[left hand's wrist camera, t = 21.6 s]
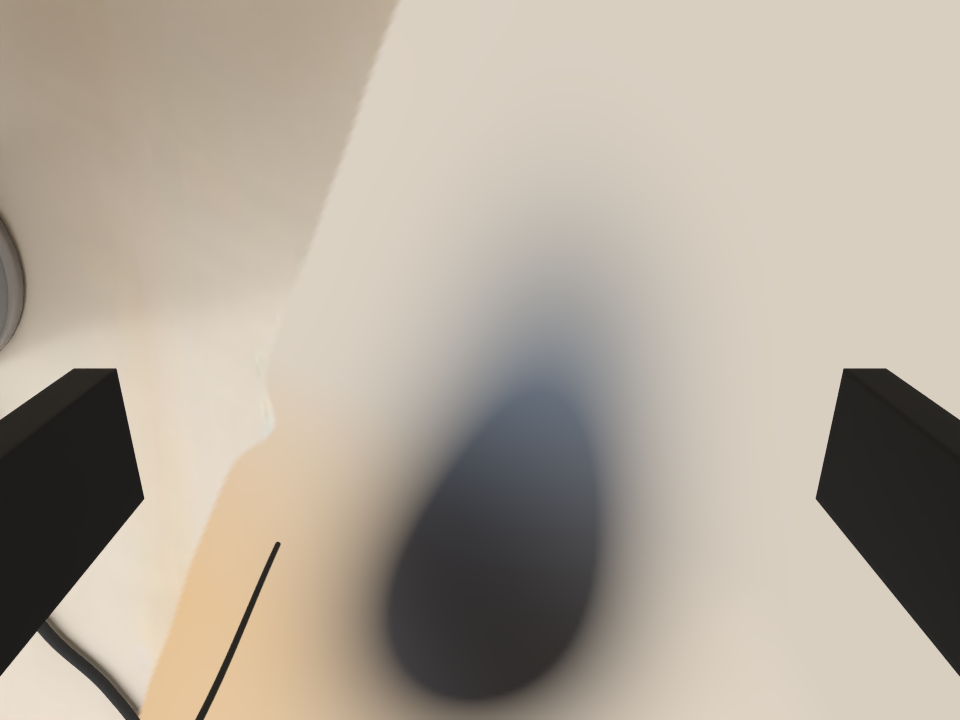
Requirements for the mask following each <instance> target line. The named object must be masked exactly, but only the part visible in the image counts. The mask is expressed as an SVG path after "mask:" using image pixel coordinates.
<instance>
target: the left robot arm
mask: <svg viewBox="0 0 960 720" xmlns="http://www.w3.org/2000/svg"><path fill="white" fill-rule="evenodd" d="M23 300H24V285H23V275H22V270H21V265H20V261H19V258H18V254H17V251H16V249H15V246H14V244H13V241H12V239H11V237H10V235H9V233H8V231H7V229H6V227H5V226H4V224H3V222H2V221H1V219H0V350H1V349H2V348H3V347H4V346H5V345H6V344H7V342H8V341H9V340H10V338H11V337H12V335H13V333H14V331H15V330H16V327H17V325H18V322H19V320H20V316H21V312H22V307H23ZM143 500H144V495H143V490H142V486H141V481H140V476H139V472H138V467H137V462H136V458H135V453H134V448H133V444H132V439H131V434H130V430H129V425H128V420H127V416H126V411H125V406H124V402H123V397H122V393H121V388H120V383H119V379H118V374H117V369H73V370H71V371H70V372H68V373H67V374H65V375H64V376H63V377H61V378H60V379H58V380H57V381H55V382H54V383H52V384H51V385H50V386H48V387H47V388H45V389H44V390H42V391H41V392H40V393H38V394H37V395H35V396H34V397H32V398H31V399H30V400H28V401H27V402H25V403H24V404H22V405H21V406H20V407H18V408H17V409H15V410H14V411H12V412H11V413H10V414H8V415H7V416H5V417H4V418H2V419H1V420H0V676H1V675H2V674H3V672H4V671H5V670H6V669H7V667H8V666H9V665H10V664H11V662H12V661H13V660H14V659H15V657H16V656H17V655H18V654H19V653H20V651H21V650H22V649H23V648H24V646H25V645H26V644H27V643H28V641H29V640H30V639H31V638H32V637H33V635H34V634H35V633H36V632H37V631H38V632H39V634H40V635H41V636H42V637H43V638H44V639H45V640H46V641H47V642H48V643H49V645H50V646H51V647H53V648H54V649H55V650H56V651H57V652H58V653H59V654H60V655H61V656H62V657H64V658H65V659H66V660H67V661H68V662H70V663H71V664H72V665H73V666H75V667H76V668H77V669H78V670H79V671H81V672H82V673H83V674H84V675H85V676H87V677H88V678H89V679H90V680H91V681H92V682H93V683H94V684H95V685H96V686H97V687H98V688H99V689H100V690H101V691H102V692H103V693H104V694H105V696H106V697H107V698H108V699H109V700H110V701H111V703H112V704H113V705H114V706H115V707H116V708H117V710H118V711H119V712H120V713H121V714H122V716H123V717H124V718H125V719H126V720H140V719H139V718H138V716H137V715H136V713H135V712H134V710H133V709H132V708H131V707H130V705H129V704H128V703H127V702H126V701H125V699H124V698H123V697H122V696H121V695H120V693H119V692H118V691H117V690H116V689H115V688H114V686H113V685H112V684H111V683H110V682H109V681H108V680H107V679H106V678H105V677H104V676H103V675H102V674H101V673H100V672H99V671H98V670H97V669H96V668H95V667H94V666H93V665H91V664H90V663H89V662H88V661H87V660H85V659H84V658H83V657H82V656H81V655H79V654H78V653H77V652H76V651H75V650H73V649H72V648H71V647H70V646H69V645H68V644H67V643H65V642H64V641H63V640H62V639H61V638H60V637H59V636H58V635H57V634H56V633H55V631H54V630H53V629H52V628H51V627H50V626H49V625H48V623H47V622H46V619H47V618H48V617H49V616H50V614H51V613H52V612H53V611H54V609H55V608H56V607H57V606H58V604H59V603H60V602H61V601H62V600H63V598H64V597H65V596H66V595H67V593H68V592H69V591H70V590H71V588H72V587H73V586H74V585H75V584H76V582H77V581H78V580H79V579H80V577H81V576H82V575H83V574H84V572H85V571H86V570H87V569H88V568H89V566H90V565H91V564H92V563H93V561H94V560H95V559H96V558H97V556H98V555H99V554H100V553H101V551H102V550H103V549H104V548H105V547H106V545H107V544H108V543H109V542H110V540H111V539H112V538H113V537H114V535H115V534H116V533H117V532H118V531H119V529H120V528H121V527H122V526H123V524H124V523H125V522H126V521H127V519H128V518H129V517H130V516H131V515H132V513H133V512H134V511H135V510H136V508H137V507H138V506H139V505H140V503H141V502H142V501H143ZM816 500H817V501H818V502H819V503H820V505H821V506H822V507H823V508H824V510H825V511H826V512H827V513H828V514H829V516H830V517H831V518H832V519H833V521H834V522H835V523H836V524H837V526H838V527H839V528H840V529H841V531H842V532H843V533H844V534H845V535H846V537H847V538H848V539H849V540H850V542H851V543H852V544H853V545H854V546H855V548H856V549H857V550H858V551H859V553H860V554H861V555H862V556H863V558H864V559H865V560H866V561H867V563H868V564H869V565H870V566H871V568H872V569H873V570H874V571H875V572H876V574H877V575H878V576H879V577H880V579H881V580H882V581H883V582H884V583H885V585H886V586H887V587H888V588H889V590H890V591H891V592H892V593H893V595H894V596H895V597H896V598H897V600H898V601H899V602H900V603H901V604H902V606H903V607H904V608H905V609H906V611H907V612H908V613H909V614H910V616H911V617H912V618H913V619H914V621H915V622H916V623H917V624H918V625H919V627H920V628H921V629H922V630H923V632H924V633H925V634H926V635H927V637H928V638H929V639H930V640H931V641H932V643H933V644H934V645H935V646H936V648H937V649H938V650H939V651H940V653H941V654H942V655H943V656H944V657H945V659H946V660H947V661H948V662H949V664H950V665H951V666H952V667H953V669H954V670H955V671H956V672H957V674H958V675H959V676H960V420H959V419H958V418H956V417H955V416H953V415H952V414H950V413H949V412H948V411H946V410H945V409H943V408H942V407H940V406H939V405H938V404H936V403H935V402H933V401H932V400H930V399H929V398H928V397H926V396H925V395H923V394H922V393H920V392H919V391H918V390H916V389H915V388H913V387H912V386H910V385H909V384H907V383H906V382H905V381H903V380H902V379H900V378H899V377H897V376H896V375H895V374H893V373H892V372H890V371H889V370H887V369H843V374H842V379H841V383H840V388H839V393H838V397H837V402H836V407H835V411H834V416H833V421H832V425H831V430H830V435H829V439H828V444H827V449H826V453H825V458H824V462H823V467H822V472H821V476H820V481H819V486H818V490H817V495H816ZM280 545H281V543H280V542H276V543H275V545H274V547H273V549H272V552H271V554H270V556H269V558H268V560H267V562H266V565H265V567H264V569H263V571H262V574H261V576H260V578H259V581H258V583H257V585H256V587H255V590H254V592H253V594H252V597H251V599H250V601H249V604H248V606H247V608H246V611H245V613H244V615H243V618H242V620H241V622H240V625H239V627H238V630H237V632H236V634H235V636H234V639H233V641H232V643H231V646H230V648H229V650H228V652H227V655H226V657H225V659H224V661H223V663H222V666H221V668H220V670H219V672H218V674H217V677H216V679H215V681H214V683H213V685H212V687H211V689H210V691H209V693H208V695H207V697H206V699H205V701H204V703H203V705H202V707H201V709H200V711H199V713H198V715H197V717H196V719H195V720H204V718H205V716H206V714H207V712H208V710H209V708H210V706H211V704H212V702H213V700H214V698H215V696H216V694H217V691H218V689H219V687H220V685H221V683H222V681H223V679H224V676H225V674H226V672H227V670H228V667H229V665H230V663H231V661H232V658H233V656H234V653H235V651H236V649H237V647H238V644H239V642H240V639H241V637H242V635H243V632H244V630H245V627H246V625H247V623H248V620H249V618H250V615H251V613H252V611H253V608H254V606H255V603H256V601H257V599H258V596H259V594H260V591H261V589H262V587H263V584H264V582H265V580H266V577H267V575H268V573H269V570H270V568H271V566H272V563H273V561H274V559H275V556H276V554H277V552H278V550H279V548H280Z"/></svg>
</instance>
